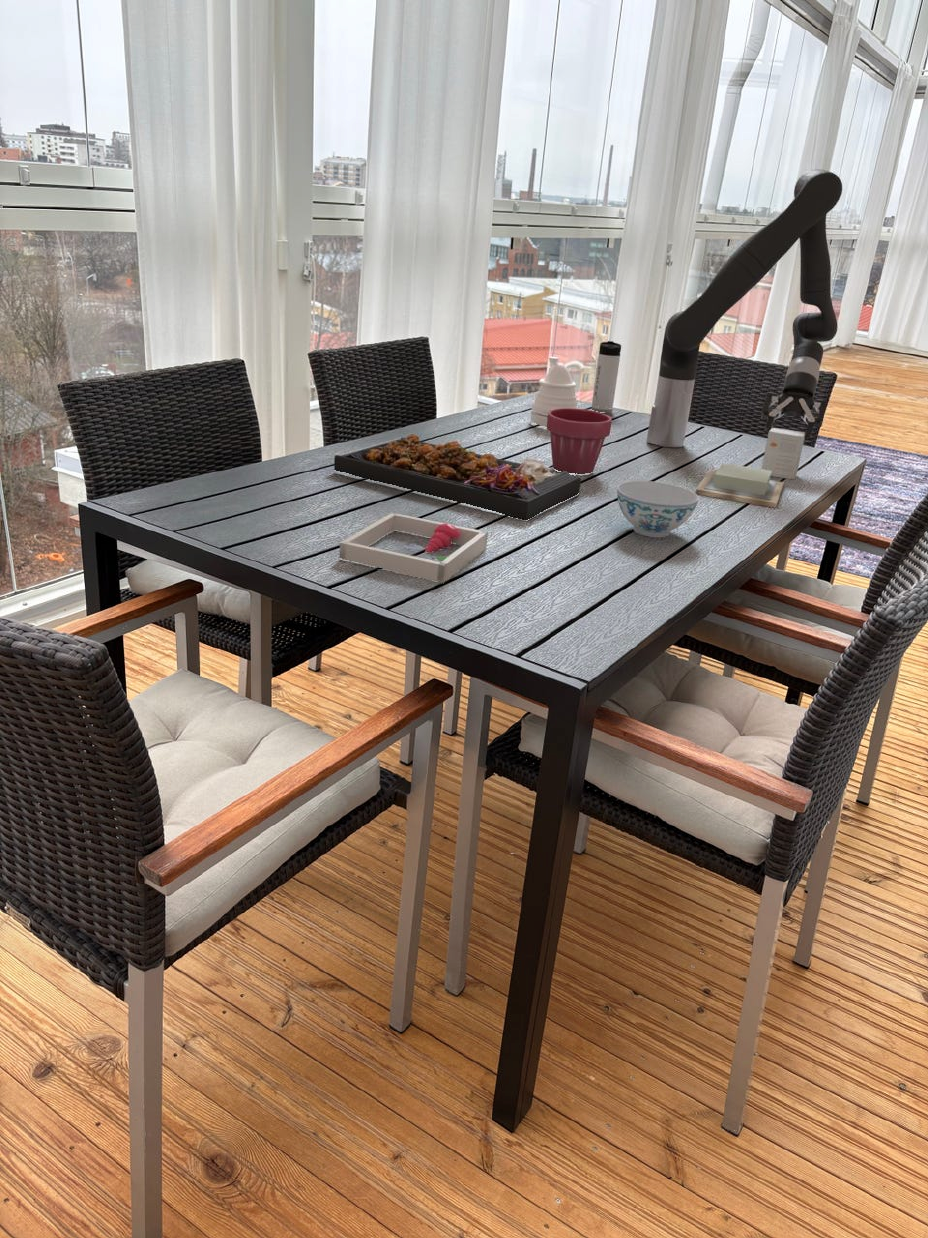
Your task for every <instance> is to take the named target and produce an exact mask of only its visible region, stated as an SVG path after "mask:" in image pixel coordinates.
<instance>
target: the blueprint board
mask: <svg viewBox="0 0 928 1238" xmlns="http://www.w3.org/2000/svg"><path fill="white" fill-rule="evenodd" d="M717 471H718V470H713V469H709V470H708V471H707V473H706V474H705V476H704V477H703V479H702V480H701V481H700V482H699V485H697V487H696V488H695V492H694V493H696V494H697V495H701V496H707V497H710V498H711V497H712V498H718V499H723V500H724V499H725V500H728V501H734V502H740V503H747V504H752V505H758V506H762V507H767V508H768V507H769V508H773V509H775V508H776V509H777V505H778V502H779V499H780V497H781V494H782V491H783V488H784V485H785V482H783V481H778V480H773V479H770V482H769V485H768V487H767V490H766V492H765V495H758V494H753V493H747V492H741V491H736V490H730V489H724V488H718V487H713V483H714V478H715V474H716V472H717Z"/></svg>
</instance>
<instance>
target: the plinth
mask: <svg viewBox="0 0 928 1238" xmlns="http://www.w3.org/2000/svg"><path fill="white" fill-rule="evenodd" d="M716 471H717V472H716V474H715V478H714V483H713V487H718V488H724V489H730V490H736V491H741V492H747V493H753V494H758V495H765V492H766V490H767V487H768V485H769V482H770V480H771V477H772V476H771V473H772V471H769V470H762V469H760V468H757V467H756V468H755V467H749V466H743V465H738V464H737V465H736V464H731V463H727V462H726V463H725V462H721V464H720V466H719V467H718V469H717V470H716Z"/></svg>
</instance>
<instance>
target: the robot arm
mask: <svg viewBox="0 0 928 1238" xmlns="http://www.w3.org/2000/svg"><path fill="white" fill-rule="evenodd" d="M842 193H843V182H842V180H841V178H840V177H839V176H838V175H837V174H836V173H834V172H832V171H828V170H824V169H819V168H816V169H809V170H807V171H805V172H804V173H803V174H801V175H800V177H798V179H797V181H796V182H795V185H794V190H793V196H794V199H793V200H792V201H791V202H790V203H789V205H787V207H786V208H785V209H784V210H783V211H782V212H781V213H780V214H778V216H777V217H776V218H774V219H773V220H772V221H771V222H769V223H768V224H766V225H764V226H763V227H762V228H760V229H758V230H757V231H756V232H754V233H753V234H752V235H750V236H749V237H747V239H745V240H744V242H742V244H740V246H739V247H738V248H736V250H735V251H734V252H733V253H732V255H730V257H729V258H728V259H727V260H726V261H725V262H724V264H723V265H722V266H721V268H720V269H719V271H718V272H717V273H716V274H715V276H714V277H713V279H712V280H711V281H710V283H709V284H708V286H707V288H706V289H705V291H704V292H702V294H701V295H700V296H699V297H697V299H696V300H695V301H693V302H692V303H691V304H690V305H689V306H688V307H687V308H686V309H685V310H681V311H678V312H676V313H674V314H673V315H672V316H670V318H669V319H668V320H667V323H666V325H665V329H664V336H663V341H662V347H661V355H660V361H659V362H660V363H659V371H658V379H657V383H656V390H655V396H654V405H652V406H651V411H650V417H649V423H648V429H647V430H648V431H647V436H646V443H648V444H653V445H654V444H655V446H658V445H659V447H665V448H681V447H684V443H685V439H686V432H687V427H688V422H689V418H690V417H689V416H690V411H691V405H692V399H693V394H694V387H695V381H696V376H697V371H698V358H699V353H700V352H699V351H700V345H701V343H702V342H703V341H704V339H705V338H706V337H707V335H708V334H710V331H712V329H713V328H714V327H715V326H716V324H717V323H718V322H719V321H720V319H721V318H722V317H723V316H724V315H725V314H726V313H727V312H728V311H729V310H730V309H731V308H732V307H734V306H735V305H736V304H737V303H739V302H740V301H741V299H743V298H744V297H745V296H746V295H747V294H748V293H749V292H750V291H751V290H752V289H753V288H754V287H756V286H757V285H758V283H759V282H760V281H761V280H762V279H763V278H764V277H765V276H766V275H767V274H768V273H769V272H770V270H772V269H773V267H774V266H776V265H777V263H778V262H779V261H780V260H781V259H782V258H783V257H784V256H785V255H786V254H787V252H788V251H789V250H790V249H791V248H792V247H793V246H794V244H795V243H797V241H798V240H799V249H800V253H799V254H800V255H799V256H800V261H799V262H800V263H799V264H800V267H799V268H800V271H799V272H800V273H799V274H800V275H799V276H800V277H799V279H800V280H799V281H800V282H799V291H800V292H799V298H800V301H801V303H803V304H805V305H809V306H814V307H816V308H818V310H819V312H803V313H800V314H798V315H797V316H796V317H794V320H793V321H792V335H793V351H792V356H791V360H790V364H789V366H788V367H787V372H786V374H785V378H784V383H783V386H782V390H781V394H780V395H779V396H775V395H773V393H772V392H769V393H767V395H766V398H765V401H764V404H763V407H762V409H761V414H760V415H761V419H763V420H767V421H766V425H765V432H767V434H768V433H769V431H770V430H771V429H772V428H774V427H773V426H774V422H775V420H777V419H779V418H781V417H782V416H784V415H785V416H786V417H794V418H800V417H801V418H802V420H803V422H804V423H806V424H807V426H806V430H805V438H804V441H808V439H811V437H812V434H813V430H814V427H817V428H821V427H822V426H823V422H824V419H825V418H824V417H825V411H826V406H827V401H826V400H821V401H820V402H817V401H814V397H815V394H816V389H817V386H818V384H819V383H818V382H819V376H820V370H821V368H820V367H821V364H822V359H823V356H824V347H823V345H822V344H821V342H829V341H831V340H833V339H834V338H835V336H836V335H837V332H838V319H837V316H836V313H835V309H834V306H833V300H832V296H831V289H832V288H831V283H832V282H831V281H832V280H831V279H832V268H831V267H832V266H831V257H830V250H829V245H828V238H827V215H828V213H830V212H831V211H832V210H833V209H834V208H835V207H836V205H837V204H838V202H839V201H840V199H841V197H842ZM775 403H777V406H776V407H775V408H774V409H773V410H772V411H770V408H771V406H773V405H775ZM813 408H815V411H816V412H817V413H818V415H817V418H814V416H813V414H812V411H811V410H812V409H813Z"/></svg>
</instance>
